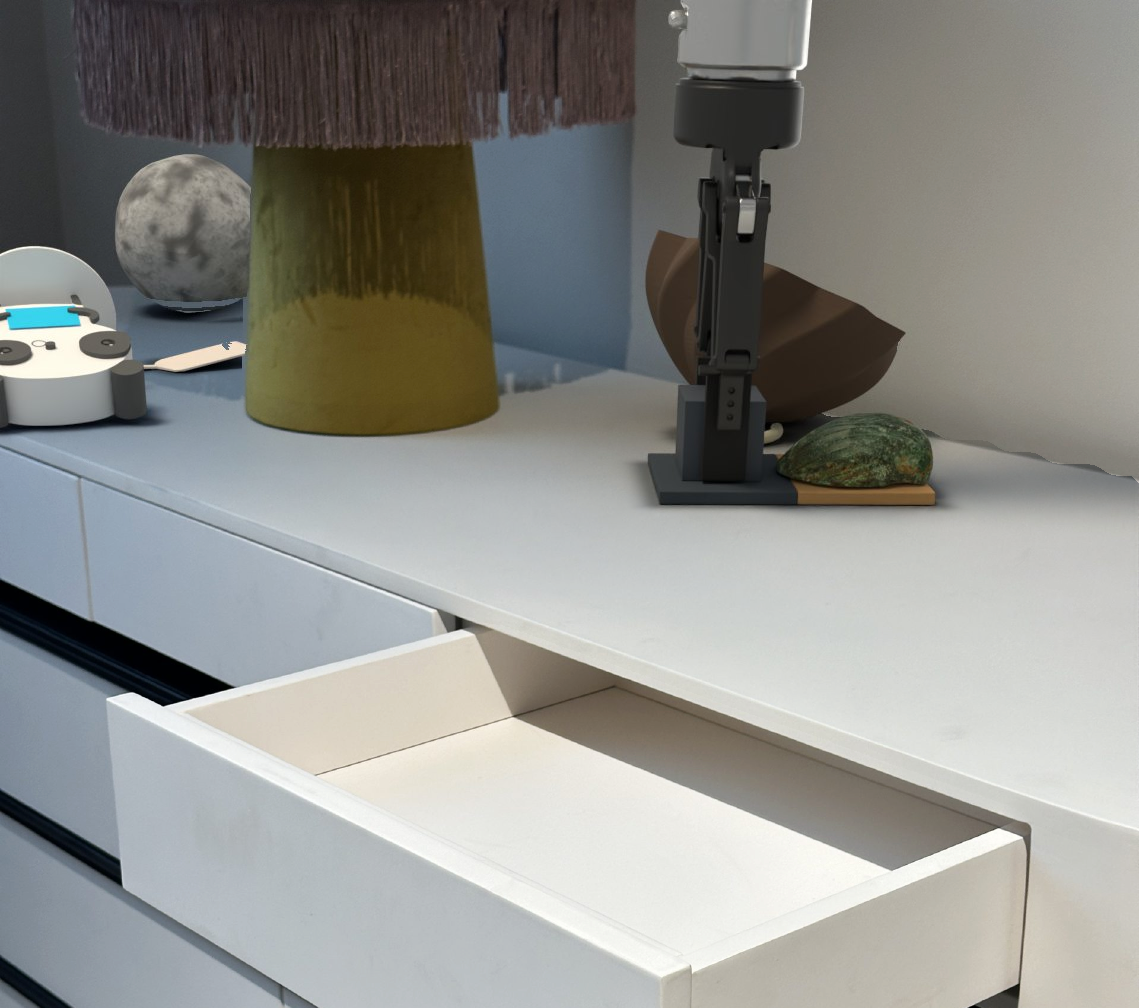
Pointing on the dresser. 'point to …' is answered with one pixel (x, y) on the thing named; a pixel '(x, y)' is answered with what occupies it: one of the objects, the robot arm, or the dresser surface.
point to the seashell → (861, 453)
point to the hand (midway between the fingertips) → (717, 467)
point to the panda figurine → (62, 344)
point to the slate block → (692, 433)
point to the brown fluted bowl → (777, 334)
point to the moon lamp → (185, 231)
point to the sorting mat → (774, 488)
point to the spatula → (199, 357)
